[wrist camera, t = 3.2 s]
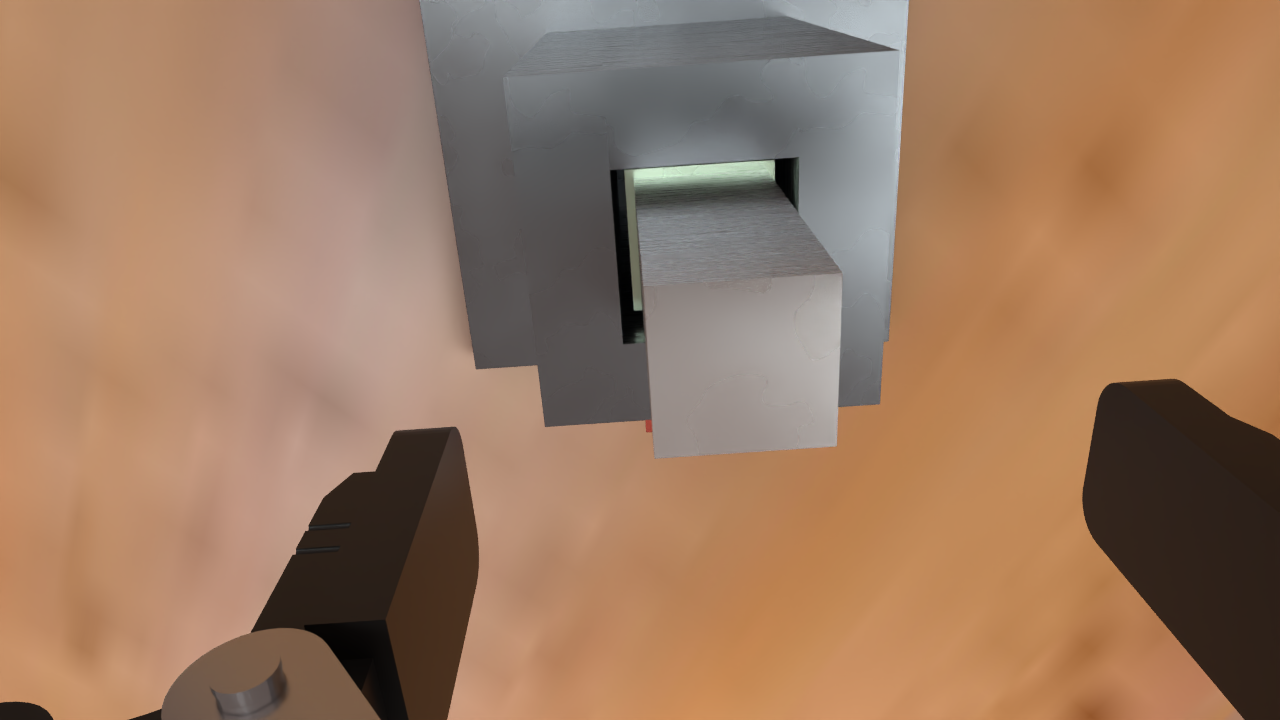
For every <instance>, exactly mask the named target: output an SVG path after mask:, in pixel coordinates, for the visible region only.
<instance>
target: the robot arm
mask: <svg viewBox="0 0 1280 720" xmlns="http://www.w3.org/2000/svg"><path fill="white" fill-rule="evenodd" d="M1082 501H1083V511H1084V516H1085V520H1086V523H1087V526H1088V529H1089V531H1090V533H1091V535H1092V537H1093V539H1094V540H1095V542H1096V543H1097V544H1098V545H1099V547H1100V548H1101V549H1102V550H1103V551H1104V552H1105V554H1106V555H1107V556H1108V557H1109V558H1110V560H1111V561H1112V562H1113V563H1114V564H1115V566H1116V567H1117V568H1118V569H1119V570H1120V572H1121V573H1122V574H1123V575H1124V576H1125V578H1126V579H1127V580H1128V581H1129V582H1130V584H1131V585H1132V586H1133V587H1134V588H1135V589H1136V591H1137V592H1138V593H1139V594H1140V595H1141V597H1142V598H1143V599H1144V600H1145V601H1146V603H1147V604H1148V605H1149V606H1150V607H1151V609H1152V610H1153V611H1154V612H1155V613H1156V615H1157V616H1158V617H1159V618H1160V619H1161V620H1162V622H1163V623H1164V624H1165V625H1166V626H1167V628H1168V629H1169V630H1170V631H1171V632H1172V634H1173V635H1174V636H1175V637H1176V638H1177V640H1178V641H1179V642H1180V643H1181V644H1182V646H1183V647H1184V648H1185V649H1186V650H1187V652H1188V653H1189V654H1190V655H1191V656H1192V657H1193V659H1194V660H1195V661H1196V662H1197V663H1198V665H1199V666H1200V667H1201V668H1202V669H1203V671H1204V672H1205V673H1206V674H1207V675H1208V677H1209V678H1210V679H1211V680H1212V681H1213V683H1214V684H1215V685H1216V686H1217V687H1218V688H1219V690H1220V691H1221V692H1222V693H1223V694H1224V696H1225V697H1226V698H1227V699H1228V700H1229V702H1230V703H1231V704H1232V705H1233V706H1234V708H1235V709H1236V710H1237V711H1238V712H1239V714H1240V715H1241V716H1242V717H1243V718H1244V719H1245V720H1280V440H1279V439H1278V438H1276V437H1275V436H1274V435H1272V434H1270V433H1268V432H1265V431H1263V430H1261V429H1258V428H1256V427H1253V426H1251V425H1249V424H1246V423H1244V422H1242V421H1239V420H1237V419H1235V418H1232V417H1230V416H1229V415H1227V414H1226V413H1225V412H1223V411H1222V410H1221V409H1219V408H1218V407H1216V406H1215V405H1214V404H1212V403H1211V402H1210V401H1208V400H1207V399H1205V398H1204V397H1203V396H1201V395H1200V394H1199V393H1197V392H1196V391H1195V390H1193V389H1192V388H1190V387H1189V386H1188V385H1186V384H1185V383H1183V382H1182V381H1180V380H1177V379H1163V380H1148V381H1134V382H1119V383H1112V384H1109V385H1108V386H1106V387H1105V389H1104V390H1103V391H1102V393H1101V395H1100V398H1099V401H1098V405H1097V411H1096V417H1095V423H1094V429H1093V434H1092V440H1091V446H1090V452H1089V458H1088V463H1087V469H1086V475H1085V481H1084V487H1083V497H1082ZM478 569H479V546H478V534H477V528H476V522H475V516H474V510H473V504H472V498H471V492H470V486H469V480H468V474H467V468H466V462H465V456H464V450H463V444H462V440H461V436H460V433H459V431H458V429H457V428H456V427H444V428H429V429H414V430H400V431H395V432H394V433H393V435H392V437H391V439H390V441H389V443H388V445H387V448H386V450H385V452H384V454H383V456H382V458H381V460H380V463H379V465H378V467H377V469H376V471H375V472H361V473H353V474H352V475H350V476H349V477H348V478H347V479H346V480H344V481H343V482H342V483H341V484H340V485H338V486H337V487H336V488H335V489H334V490H332V491H331V492H330V493H329V494H328V495H326V496H325V497H324V498H323V500H322V502H321V503H320V505H319V507H318V509H317V511H316V513H315V514H314V516H313V518H312V520H311V522H310V524H309V531H305V533H304V535H303V537H302V539H301V540H300V542H299V544H298V546H297V548H296V555H292V557H291V559H290V561H289V563H288V564H287V566H286V568H285V570H284V572H283V574H282V576H281V577H280V579H279V581H278V583H277V585H276V587H275V589H274V590H273V592H272V594H271V596H270V598H269V600H268V601H267V603H266V605H265V607H264V609H263V611H262V613H261V614H260V616H259V618H258V620H257V622H256V624H255V626H254V627H253V629H252V631H251V633H249V634H246V635H243V636H240V637H237V638H235V639H233V640H230V641H228V642H226V643H224V644H222V645H220V646H218V647H216V648H214V649H212V650H211V651H209V652H208V653H206V654H205V655H203V656H201V657H200V658H199V659H197V660H196V661H195V662H194V663H192V664H191V665H190V666H189V667H188V668H187V669H186V670H185V671H184V672H183V673H182V674H181V675H180V676H179V677H178V678H177V679H176V681H175V682H174V683H173V685H172V686H171V688H170V689H169V691H168V693H167V695H166V696H165V699H164V702H163V705H162V709H160V710H157V711H154V712H151V713H148V714H145V715H143V716H139V717H136V718H133V719H129V720H447V718H448V713H449V708H450V704H451V699H452V695H453V690H454V686H455V681H456V676H457V672H458V667H459V663H460V658H461V653H462V649H463V644H464V640H465V635H466V630H467V626H468V621H469V617H470V612H471V608H472V603H473V598H474V594H475V589H476V585H477V579H478ZM0 720H53V718H52V716H51V715H50V714H49V713H48V711H47V710H45V709H43V708H42V707H40V706H38V705H35V704H31V703H25V702H3V703H0Z"/></svg>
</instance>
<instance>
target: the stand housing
mask: <svg viewBox="0 0 1280 720" xmlns="http://www.w3.org/2000/svg"><path fill="white" fill-rule="evenodd" d="M419 2H420V8H421V15H422V21H423V28H424V34H425V41H426V47H427V54H428V60H429V67H430V73H431V80H432V86H433V93H434V99H435V106H436V112H437V119H438V125H439V132H440V138H441V145H442V151H443V158H444V164H445V171H446V177H447V184H448V190H449V197H450V203H451V210H452V216H453V223H454V229H455V236H456V242H457V249H458V255H459V262H460V268H461V275H462V281H463V288H464V294H465V301H466V308H467V314H468V321H469V327H470V334H471V340H472V347H473V353H474V360H475V366H476V369H487V368H502V367H517V366H532V365H538V373H539V381H540V389H541V397H542V406H543V414H544V422H545V427H551V426H565V425H580V424H595V423H610V422H624V421H639V420H645V421H646V432H652V421H651V409H650V397H649V385H648V373H647V361H646V349H645V337H644V324H643V312H642V310H638V311H634V305H633V290H632V276H631V262H630V247H629V233H628V219H627V204H626V190H625V175H624V169H632V168H647V167H662V166H676V165H691V164H706V163H720V162H735V161H750V160H765V159H775V182H776V184H777V185H778V186H779V188H780V189H781V190H782V192H783V193H784V194H785V196H786V197H787V198H788V200H789V201H790V202H791V204H792V205H793V206H794V208H795V209H796V211H797V212H798V213H799V215H800V216H801V217H802V219H803V220H804V221H805V223H806V224H807V225H808V227H809V228H810V229H811V231H812V232H813V233H814V235H815V236H816V238H817V239H818V240H819V242H820V243H821V244H822V246H823V247H824V248H825V250H826V251H827V252H828V254H829V255H830V256H831V258H832V259H833V260H834V262H835V263H836V265H837V266H838V267H839V269H840V270H841V271H842V273H843V280H842V309H841V337H840V366H839V394H838V407H845V406H860V405H875V404H880V393H881V375H882V358H883V342H885V341H889V324H890V307H891V291H892V274H893V257H894V240H895V224H896V207H897V190H898V173H899V157H900V140H901V123H902V106H903V90H904V73H905V56H906V39H907V23H908V6H909V0H419Z"/></svg>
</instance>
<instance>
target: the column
mask: <svg viewBox="0 0 1280 720" xmlns="http://www.w3.org/2000/svg"><path fill="white" fill-rule="evenodd" d="M624 175H625V190H626V204H627V219H628V233H629V247H630V262H631V276H632V290H633V305H634V311H638V310H642V312H643V324H644V337H645V349H646V361H647V373H648V385H649V397H650V409H651V421H652V433H653V445H654V457H655V459H656V458H671V457H686V456H701V455H715V454H730V453H745V452H760V451H774V450H789V449H804V448H819V447H833V446H837V423H838V394H839V366H840V337H841V309H842V280H843V273H842V271H841V270H840V269H839V267H838V266H837V265H836V263H835V262H834V260H833V259H832V258H831V256H830V255H829V254H828V252H827V251H826V250H825V248H824V247H823V246H822V244H821V243H820V242H819V240H818V239H817V238H816V236H815V235H814V233H813V232H812V231H811V229H810V228H809V227H808V225H807V224H806V223H805V221H804V220H803V219H802V217H801V216H800V215H799V213H798V212H797V211H796V209H795V208H794V206H793V205H792V204H791V202H790V201H789V200H788V198H787V197H786V196H785V194H784V193H783V192H782V190H781V189H780V188H779V186H778V185H777V184H776V182H775V159H765V160H750V161H735V162H720V163H706V164H691V165H676V166H662V167H647V168H632V169H624Z"/></svg>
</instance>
